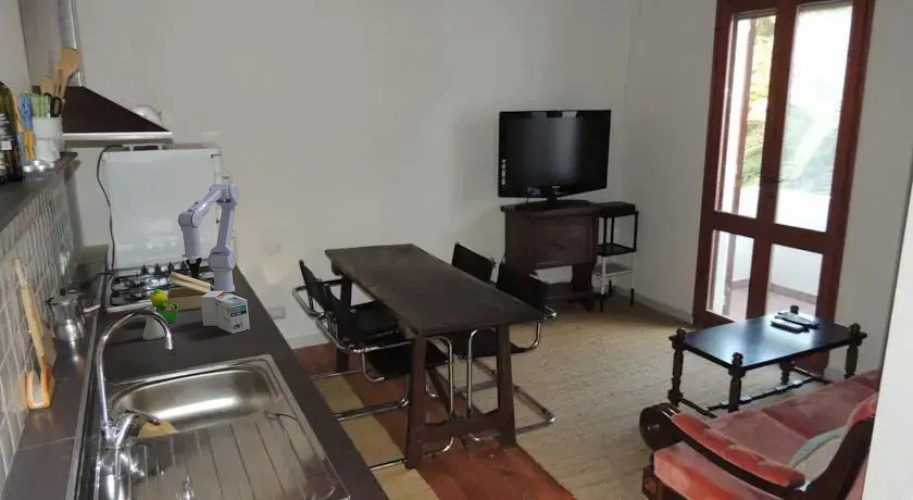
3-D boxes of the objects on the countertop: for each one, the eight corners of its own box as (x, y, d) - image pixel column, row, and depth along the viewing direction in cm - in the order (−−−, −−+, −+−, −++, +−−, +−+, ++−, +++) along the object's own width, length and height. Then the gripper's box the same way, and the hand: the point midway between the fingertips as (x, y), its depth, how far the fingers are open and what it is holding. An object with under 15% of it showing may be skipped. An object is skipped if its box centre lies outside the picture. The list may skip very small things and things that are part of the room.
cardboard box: (170, 301, 252) (169, 289, 251) (211, 297, 257) (210, 285, 256) (167, 311, 239) (166, 299, 238) (210, 307, 244) (209, 294, 243)
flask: (161, 331, 219) (157, 303, 216) (169, 336, 214) (166, 307, 211) (139, 336, 214) (135, 308, 211) (147, 342, 209) (143, 312, 206)
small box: (218, 326, 223) (216, 297, 221) (203, 326, 223) (199, 297, 221) (227, 318, 231) (224, 290, 229) (212, 318, 231) (209, 290, 229)
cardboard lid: (171, 272, 250) (171, 271, 250) (210, 285, 256) (210, 283, 256) (168, 282, 237) (168, 280, 237) (209, 294, 243) (209, 292, 243)
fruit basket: (144, 327, 222) (140, 296, 220) (144, 320, 230) (140, 289, 228) (179, 322, 227) (176, 292, 224) (179, 315, 235) (175, 285, 232)
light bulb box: (250, 329, 220) (247, 299, 217) (232, 334, 215) (229, 303, 212) (234, 322, 227) (232, 293, 224) (216, 327, 222) (213, 297, 220)
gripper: (181, 240, 249) (185, 273, 252) (179, 247, 236) (183, 283, 239) (201, 238, 251) (204, 272, 254) (200, 246, 238) (203, 281, 241)
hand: (195, 277), depth 247 cm, fingers closed
